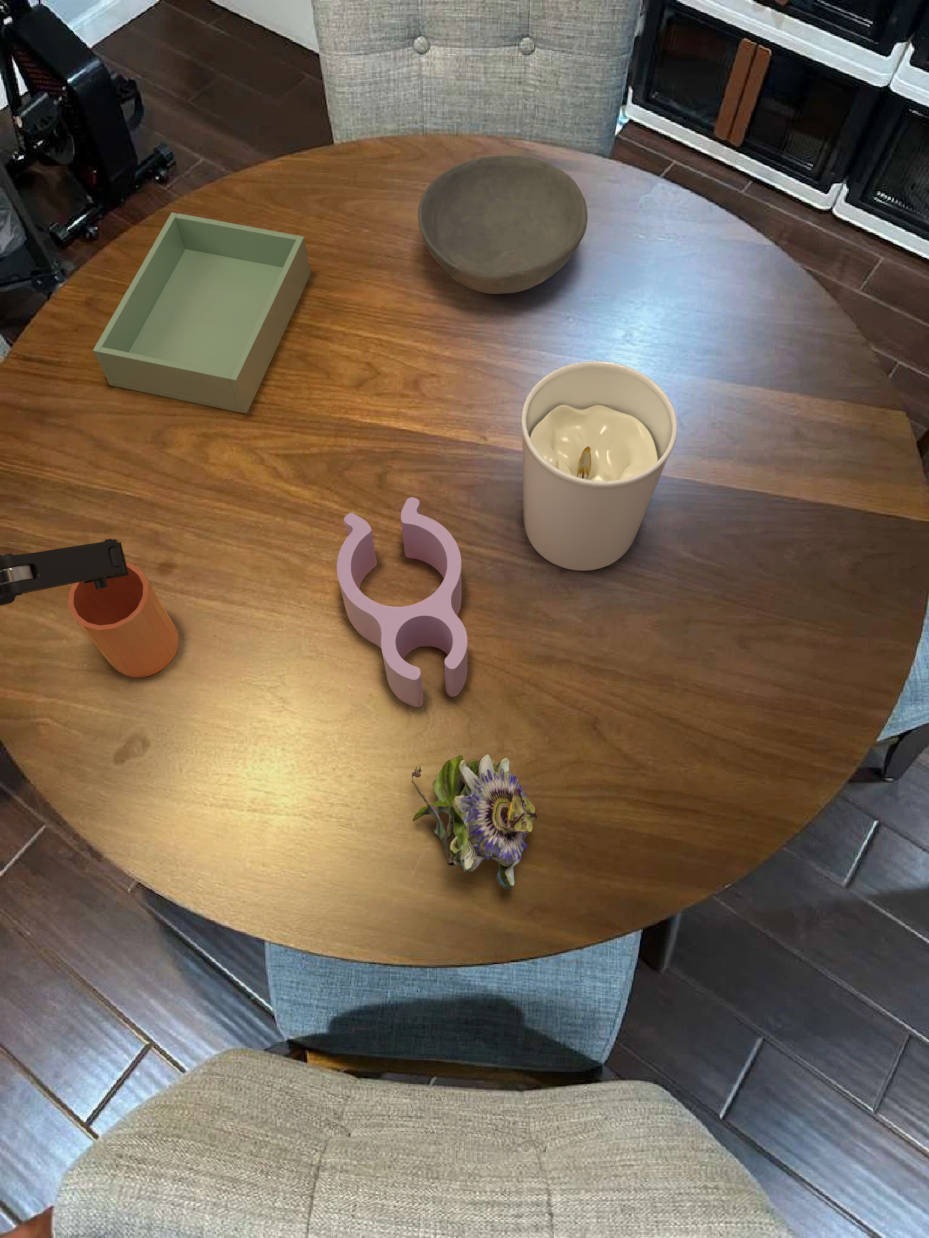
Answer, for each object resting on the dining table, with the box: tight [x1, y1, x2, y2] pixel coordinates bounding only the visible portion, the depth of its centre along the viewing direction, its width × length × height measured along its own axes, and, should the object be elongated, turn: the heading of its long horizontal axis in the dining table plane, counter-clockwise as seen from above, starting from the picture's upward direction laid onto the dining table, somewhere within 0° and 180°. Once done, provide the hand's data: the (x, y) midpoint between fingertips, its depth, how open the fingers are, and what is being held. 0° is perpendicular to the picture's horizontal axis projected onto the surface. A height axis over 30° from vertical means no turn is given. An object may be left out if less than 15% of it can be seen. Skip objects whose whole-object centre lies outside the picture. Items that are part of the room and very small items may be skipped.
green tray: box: [92, 211, 312, 415], centre depth 118 cm, size 18×24×6 cm
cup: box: [67, 561, 180, 678], centre depth 96 cm, size 7×7×11 cm
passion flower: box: [411, 754, 538, 890], centre depth 89 cm, size 11×11×12 cm
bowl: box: [417, 155, 589, 295], centre depth 122 cm, size 21×21×8 cm
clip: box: [336, 496, 468, 708], centre depth 99 cm, size 20×12×7 cm, turn 17°
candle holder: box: [520, 360, 678, 572], centre depth 99 cm, size 15×15×18 cm
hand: (40, 576), depth 78 cm, fingers open, 13 cm apart
